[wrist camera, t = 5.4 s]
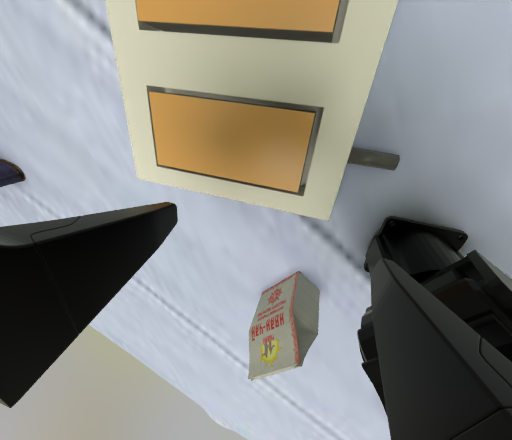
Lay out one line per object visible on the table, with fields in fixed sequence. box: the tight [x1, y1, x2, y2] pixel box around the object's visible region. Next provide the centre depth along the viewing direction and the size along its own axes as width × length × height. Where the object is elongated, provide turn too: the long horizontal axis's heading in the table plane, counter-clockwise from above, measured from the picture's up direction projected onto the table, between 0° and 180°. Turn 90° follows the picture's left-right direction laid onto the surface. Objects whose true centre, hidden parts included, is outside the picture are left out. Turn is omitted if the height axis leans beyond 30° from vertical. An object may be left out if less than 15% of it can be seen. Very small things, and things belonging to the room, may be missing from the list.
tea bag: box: [248, 271, 320, 381], centre depth 24 cm, size 4×7×10 cm, turn 139°
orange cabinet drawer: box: [149, 92, 316, 193], centre depth 18 cm, size 13×6×3 cm, turn 84°
